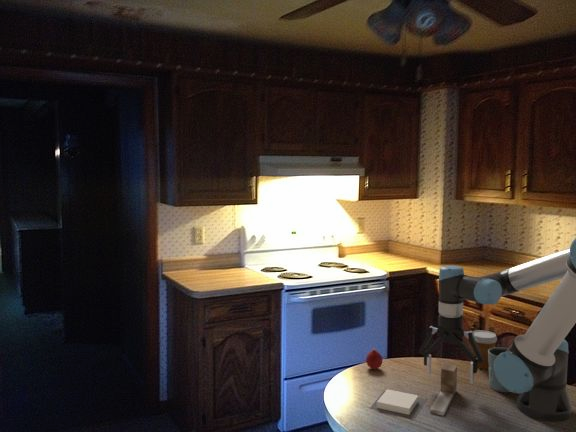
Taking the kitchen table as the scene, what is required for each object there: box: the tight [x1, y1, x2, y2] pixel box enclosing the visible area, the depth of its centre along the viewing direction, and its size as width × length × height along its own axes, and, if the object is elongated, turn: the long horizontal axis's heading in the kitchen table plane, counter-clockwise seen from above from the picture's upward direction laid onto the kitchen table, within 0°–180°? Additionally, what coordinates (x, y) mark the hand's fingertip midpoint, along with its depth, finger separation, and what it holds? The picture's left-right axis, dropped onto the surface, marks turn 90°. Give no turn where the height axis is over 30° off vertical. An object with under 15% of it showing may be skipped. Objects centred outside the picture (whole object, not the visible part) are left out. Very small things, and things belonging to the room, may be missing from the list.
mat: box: [369, 390, 428, 419], centre depth 172 cm, size 14×14×1 cm
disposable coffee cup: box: [471, 329, 498, 370], centre depth 203 cm, size 10×10×12 cm
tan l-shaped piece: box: [429, 363, 458, 416], centre depth 173 cm, size 4×19×9 cm, turn 152°
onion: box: [365, 348, 383, 371], centre depth 199 cm, size 6×6×8 cm
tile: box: [377, 388, 419, 415], centre depth 171 cm, size 10×2×10 cm
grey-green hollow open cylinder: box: [488, 346, 512, 393], centre depth 185 cm, size 10×10×12 cm
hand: (450, 378), depth 179 cm, fingers open, 13 cm apart
